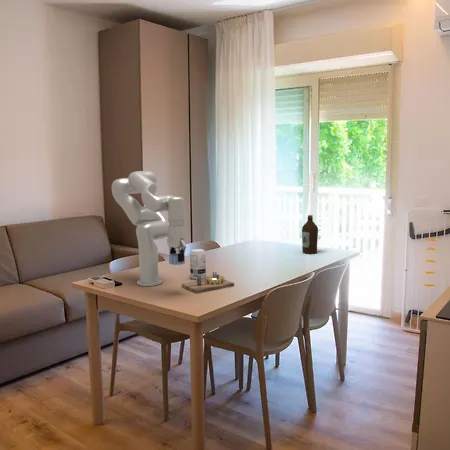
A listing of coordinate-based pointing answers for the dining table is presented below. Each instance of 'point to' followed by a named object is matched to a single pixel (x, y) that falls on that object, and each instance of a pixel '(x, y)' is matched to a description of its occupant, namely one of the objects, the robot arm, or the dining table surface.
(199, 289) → the gear board
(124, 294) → the dining table surface
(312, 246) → the olive oil
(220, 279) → the brass drive gear
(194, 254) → the supplement can
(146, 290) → the dining table surface
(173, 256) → the blue gear
